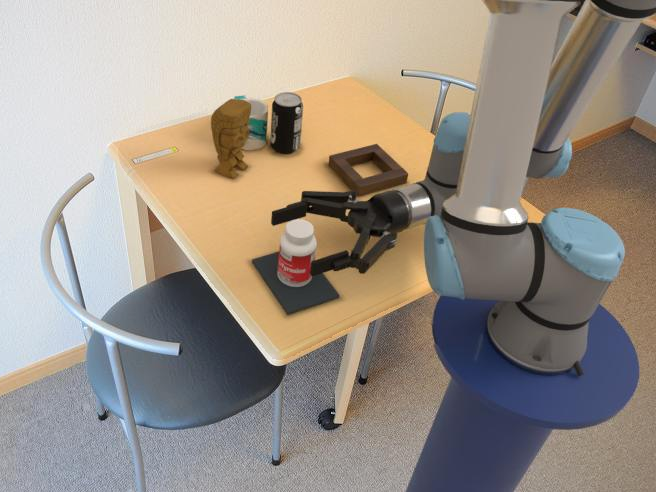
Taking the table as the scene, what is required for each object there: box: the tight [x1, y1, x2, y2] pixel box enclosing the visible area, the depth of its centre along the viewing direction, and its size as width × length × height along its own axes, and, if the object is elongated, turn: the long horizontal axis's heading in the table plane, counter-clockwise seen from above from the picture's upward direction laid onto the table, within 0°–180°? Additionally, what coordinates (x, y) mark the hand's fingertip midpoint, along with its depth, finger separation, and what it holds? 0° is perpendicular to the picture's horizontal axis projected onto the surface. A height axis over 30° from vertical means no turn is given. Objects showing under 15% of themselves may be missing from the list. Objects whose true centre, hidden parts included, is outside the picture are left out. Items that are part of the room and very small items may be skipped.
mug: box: [233, 94, 269, 151], centre depth 145 cm, size 8×12×8 cm
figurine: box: [210, 98, 251, 180], centre depth 134 cm, size 7×7×15 cm
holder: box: [327, 143, 409, 198], centre depth 138 cm, size 12×12×2 cm
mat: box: [251, 251, 340, 316], centre depth 115 cm, size 14×10×1 cm
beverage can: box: [269, 91, 304, 155], centre depth 141 cm, size 7×7×12 cm
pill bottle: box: [277, 218, 318, 287], centre depth 111 cm, size 6×6×11 cm
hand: (291, 242), depth 108 cm, fingers open, 13 cm apart
